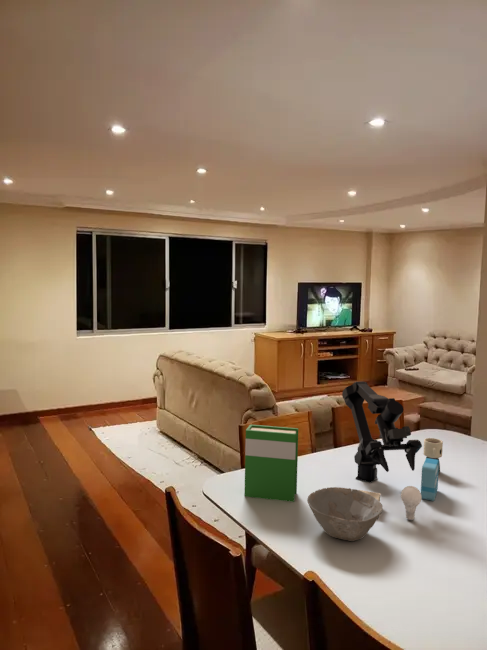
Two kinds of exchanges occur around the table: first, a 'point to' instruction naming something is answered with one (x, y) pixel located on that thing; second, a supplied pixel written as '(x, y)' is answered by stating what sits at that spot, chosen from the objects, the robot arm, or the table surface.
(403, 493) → the lightbulb
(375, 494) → the kraft carton
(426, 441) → the character mug
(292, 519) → the table surface
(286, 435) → the hardback book
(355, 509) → the ceramic bowl
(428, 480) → the data package
